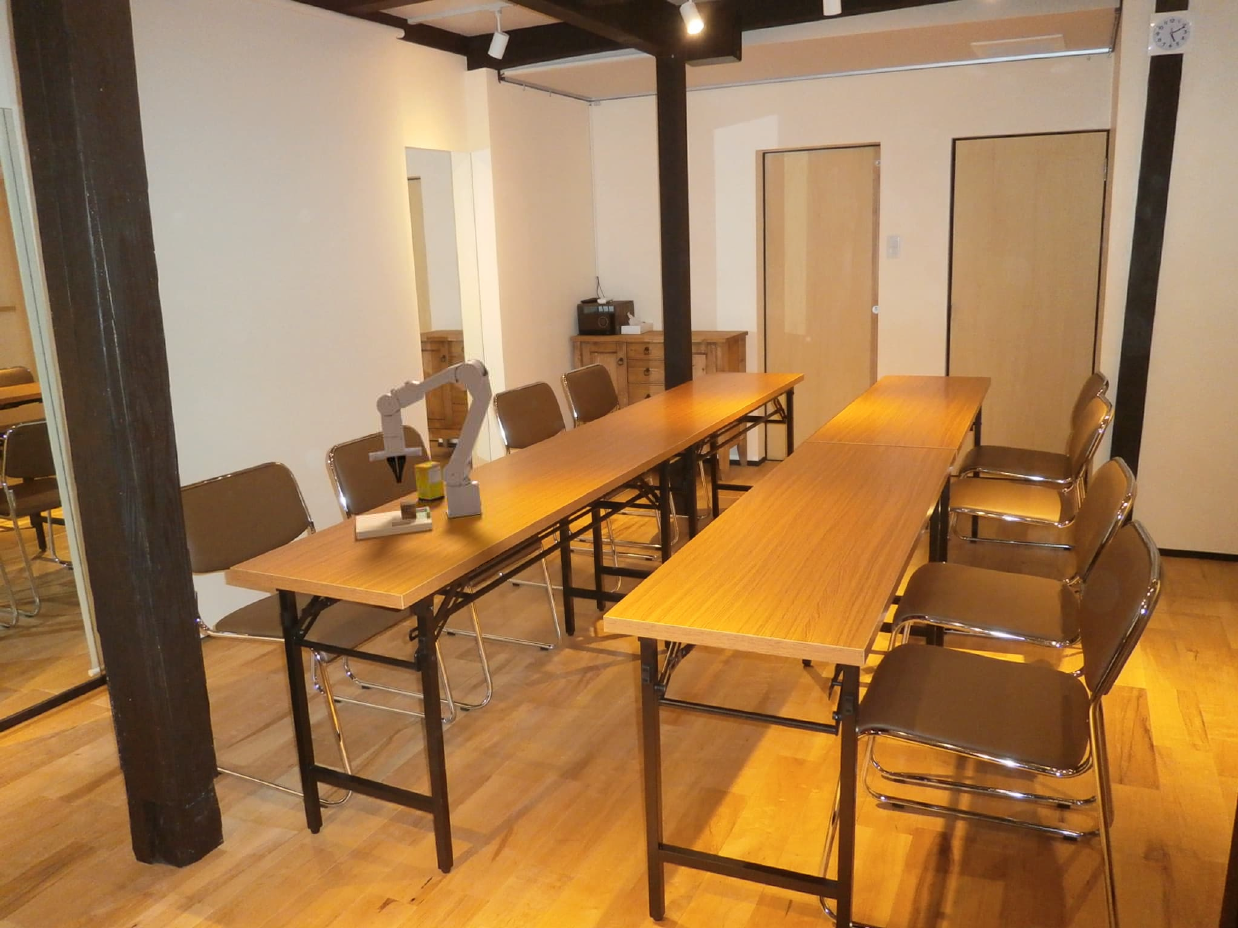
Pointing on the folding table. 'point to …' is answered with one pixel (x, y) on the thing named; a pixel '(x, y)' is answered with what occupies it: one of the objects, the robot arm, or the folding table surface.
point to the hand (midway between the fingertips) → (399, 482)
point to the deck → (392, 523)
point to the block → (408, 510)
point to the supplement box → (429, 481)
